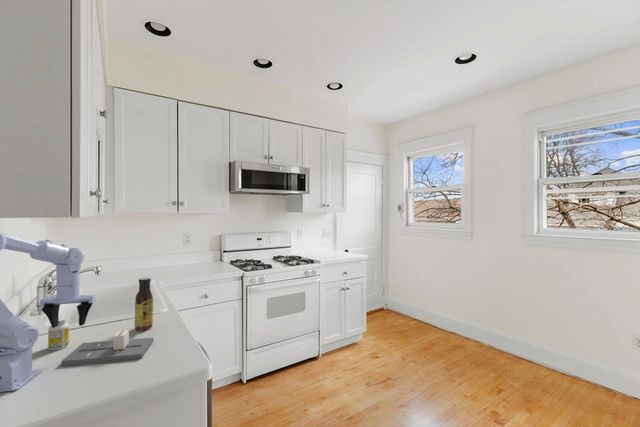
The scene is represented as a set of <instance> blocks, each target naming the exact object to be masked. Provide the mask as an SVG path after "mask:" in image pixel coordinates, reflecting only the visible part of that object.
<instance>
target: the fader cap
mask: <svg viewBox="0 0 640 427" xmlns="http://www.w3.org/2000/svg"><path fill="white" fill-rule="evenodd" d="M129 332H130V331H129V330H118V331H117V332H116V333H115V334H114V335H113V341H114V350H118V349H124V348H125V347H126V346H127V345H128V344H129V339H130V336H129V335H130V334H129Z"/></svg>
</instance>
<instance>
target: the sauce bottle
mask: <svg viewBox="0 0 640 427" xmlns="http://www.w3.org/2000/svg"><path fill="white" fill-rule="evenodd" d="M151 281H152V278H151V277H141V278H138V283H139V284H138V291H137V293H136V295H135V303H134V330H135V331H139V332H144V331H149V330H150V329H151V328H152V327H153V323H154V296H153V294H152V291H151Z"/></svg>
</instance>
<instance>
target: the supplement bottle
mask: <svg viewBox="0 0 640 427" xmlns="http://www.w3.org/2000/svg"><path fill="white" fill-rule="evenodd" d="M58 318H59V322H58V325H57V326H56V327H54V328H52V326H51V325H50V326H49V327H48V330H47V333H48V334H47V338H48V339H47V341H48V342H47V347H48V350H49V351H59V350H62V349H64V348H67V347H68V346H69V344H70V325H69V323H67V317H66V316H65V317H63V316H61V317H58Z"/></svg>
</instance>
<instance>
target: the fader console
mask: <svg viewBox="0 0 640 427" xmlns="http://www.w3.org/2000/svg"><path fill="white" fill-rule="evenodd" d="M153 343H154V336H152V337H143V338H141V337H140V338H129V344H128V345H127V346H126V347H125V348H124V349H118V350H114V340H106V341H105V340H104V341H93V342H82V343H81V344H79V346H77V347H76V348H75V349H74V350H72V351H71V352H70V353H69V354H68V355H67V356H66V357H64V358H63V359H62V360H60V361H61V362H60V366H61V367H65V366H76V365H87V364H88V365H89V364H96V363H97V364H99V363H108V362H109V363H110V362H117V361H129V360H137V359H138V360H140V359H143V358H144V356H145V354H146V353H147V352H148V350H149V349H150V347H151V346H152V344H153Z"/></svg>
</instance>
